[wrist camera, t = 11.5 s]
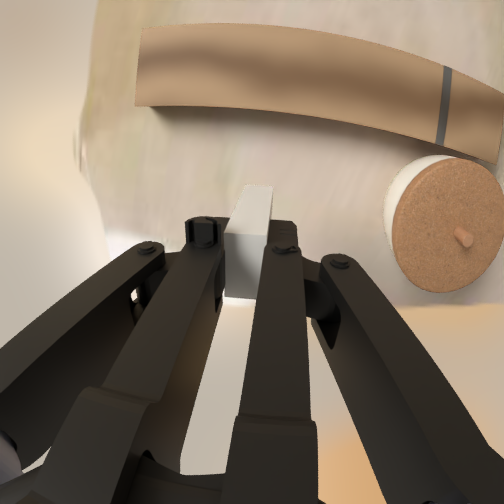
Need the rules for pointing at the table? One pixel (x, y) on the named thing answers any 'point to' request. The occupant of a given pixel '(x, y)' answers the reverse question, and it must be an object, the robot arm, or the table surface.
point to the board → (318, 82)
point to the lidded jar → (444, 221)
